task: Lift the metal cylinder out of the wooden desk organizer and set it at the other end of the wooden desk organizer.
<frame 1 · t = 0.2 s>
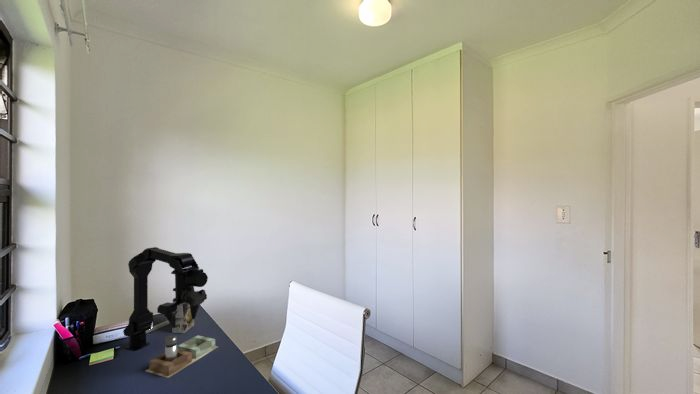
hand: (184, 323, 122), 15 cm above the table, tool pointing down, fingers open, 9 cm apart
metal cylinder: (171, 365, 115), point 1 cm above the table, touching wooden desk organizer
coffee box: (183, 329, 149), on the table
wooden desk organizer: (184, 360, 121), on the table
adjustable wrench: (165, 324, 155), on the table
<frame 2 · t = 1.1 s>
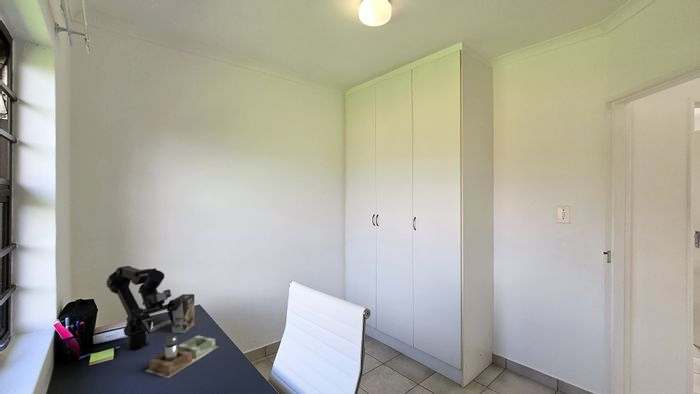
hand: (162, 328, 119), 13 cm above the table, tool tilted 45°, fingers open, 9 cm apart
nothing on the table moved.
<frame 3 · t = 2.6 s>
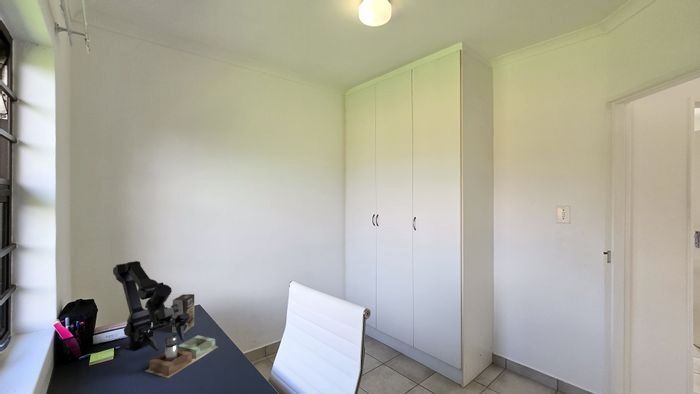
hand: (170, 345, 115), 9 cm above the table, tool tilted 45°, fingers open, 9 cm apart
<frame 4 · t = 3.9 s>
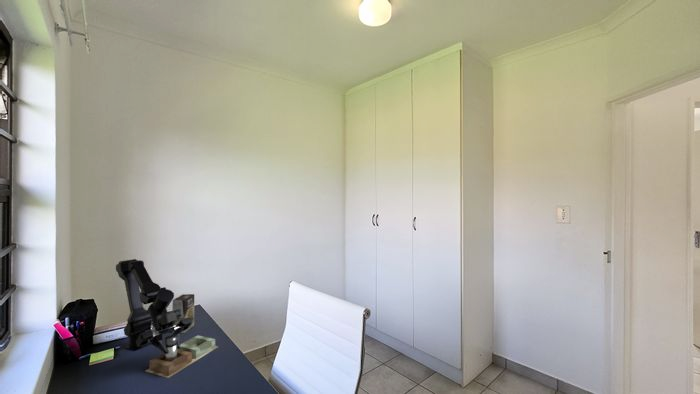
hand: (173, 351, 114), 7 cm above the table, tool tilted 45°, fingers closed on metal cylinder, 4 cm apart
metal cylinder: (171, 365, 115), point 1 cm above the table, touching wooden desk organizer, gripper
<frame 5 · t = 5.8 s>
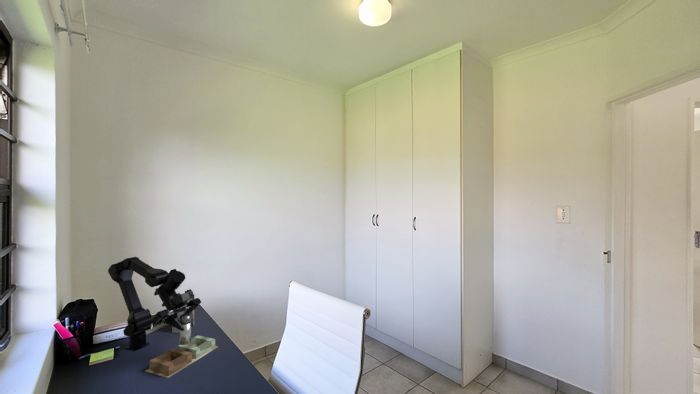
hand: (188, 328, 120), 13 cm above the table, tool tilted 45°, fingers closed on metal cylinder, 4 cm apart
metal cylinder: (185, 342, 120), point 7 cm above the table, touching gripper
when the fingers open (8 cm above the table, at t = 8.0 s): metal cylinder stays where it is, resting on wooden desk organizer.
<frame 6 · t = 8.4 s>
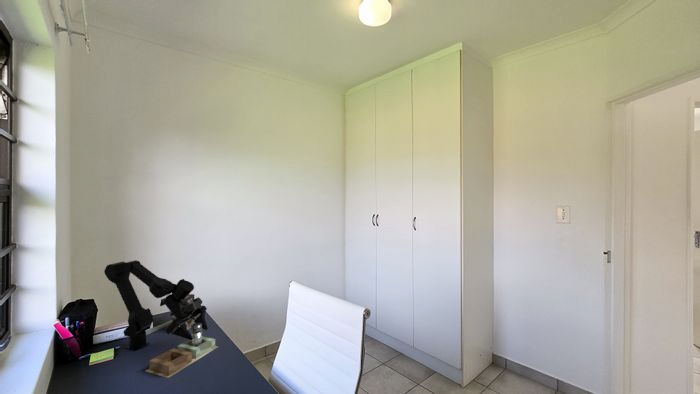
hand: (199, 334, 126), 8 cm above the table, tool tilted 45°, fingers open, 9 cm apart
metal cylinder: (196, 350, 126), point 1 cm above the table, touching wooden desk organizer
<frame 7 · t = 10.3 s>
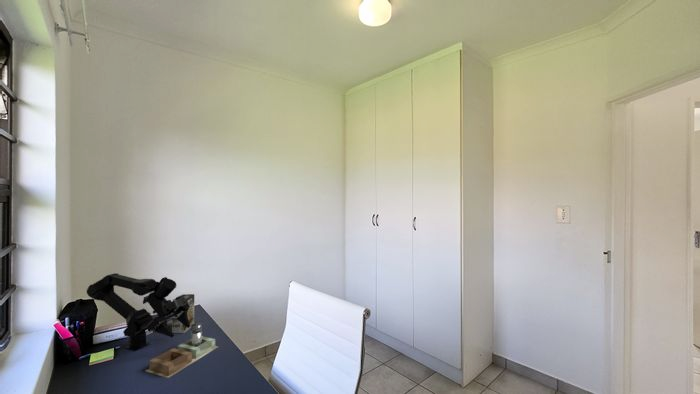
hand: (181, 331, 127), 8 cm above the table, tool tilted 45°, fingers open, 9 cm apart
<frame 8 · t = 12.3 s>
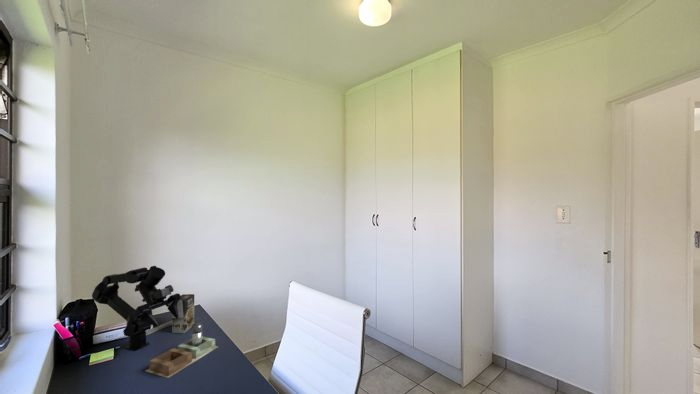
hand: (168, 321, 125), 14 cm above the table, tool tilted 45°, fingers open, 9 cm apart
at the end: metal cylinder 0.1 cm from the target spot on the wooden desk organizer, point 1.0 cm above the wooden desk organizer's base; metal cylinder tilted 1°; the gripper is holding nothing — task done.
